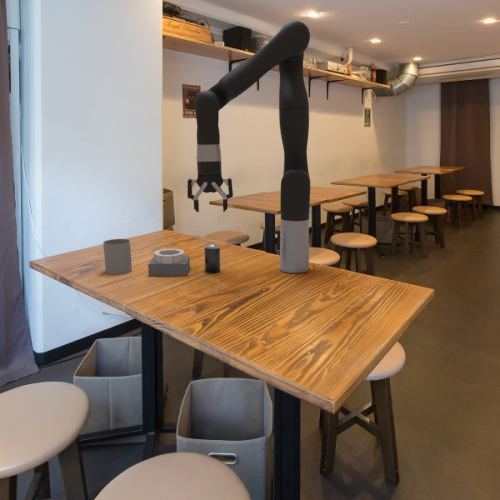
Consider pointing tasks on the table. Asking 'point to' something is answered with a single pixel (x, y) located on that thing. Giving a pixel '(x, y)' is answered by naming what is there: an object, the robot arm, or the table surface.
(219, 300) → the table surface
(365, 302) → the table surface
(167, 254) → the grey block with ring
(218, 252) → the lens
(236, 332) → the table surface
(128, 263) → the cup
